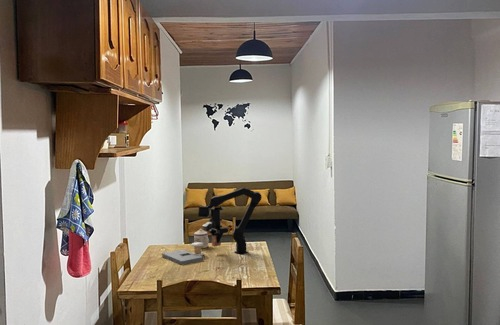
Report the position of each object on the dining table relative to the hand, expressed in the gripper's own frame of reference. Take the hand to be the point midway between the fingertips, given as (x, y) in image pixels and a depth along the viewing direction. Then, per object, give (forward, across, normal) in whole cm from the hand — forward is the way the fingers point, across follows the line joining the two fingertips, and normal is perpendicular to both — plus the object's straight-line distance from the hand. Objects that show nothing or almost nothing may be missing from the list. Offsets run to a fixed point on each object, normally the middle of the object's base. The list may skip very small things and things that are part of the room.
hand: (216, 242), depth 285 cm
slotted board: (+7, -3, -22) cm, 23 cm away
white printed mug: (+7, -20, +2) cm, 21 cm away
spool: (+6, -4, -11) cm, 13 cm away
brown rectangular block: (+2, 0, 0) cm, 2 cm away
